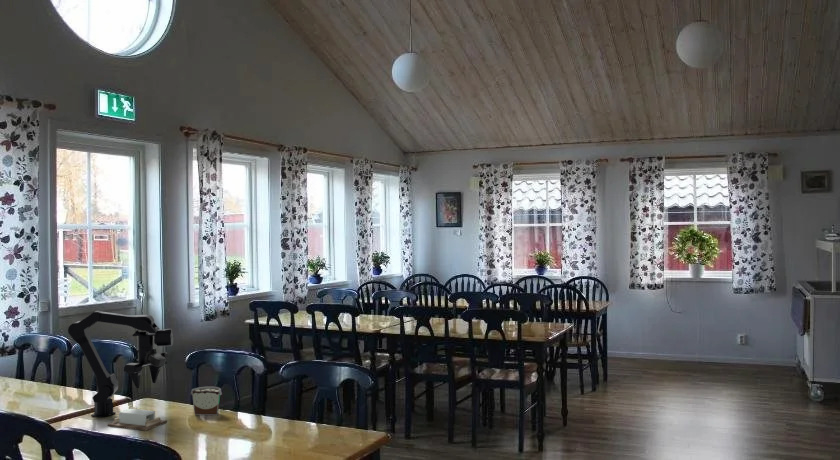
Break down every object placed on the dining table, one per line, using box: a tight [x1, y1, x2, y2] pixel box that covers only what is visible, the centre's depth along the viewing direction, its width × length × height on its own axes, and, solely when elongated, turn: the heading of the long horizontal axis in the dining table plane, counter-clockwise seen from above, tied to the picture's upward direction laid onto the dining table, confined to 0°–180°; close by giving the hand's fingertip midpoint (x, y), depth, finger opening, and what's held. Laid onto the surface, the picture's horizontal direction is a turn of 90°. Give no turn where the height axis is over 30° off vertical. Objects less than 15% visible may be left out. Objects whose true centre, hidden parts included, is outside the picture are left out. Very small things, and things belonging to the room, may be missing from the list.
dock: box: [107, 416, 168, 431], centre depth 259 cm, size 18×11×2 cm, turn 71°
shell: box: [118, 408, 156, 426], centre depth 259 cm, size 12×6×4 cm, turn 71°
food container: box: [190, 386, 223, 416], centre depth 275 cm, size 12×6×10 cm, turn 84°
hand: (146, 385), depth 275 cm, fingers open, 9 cm apart
